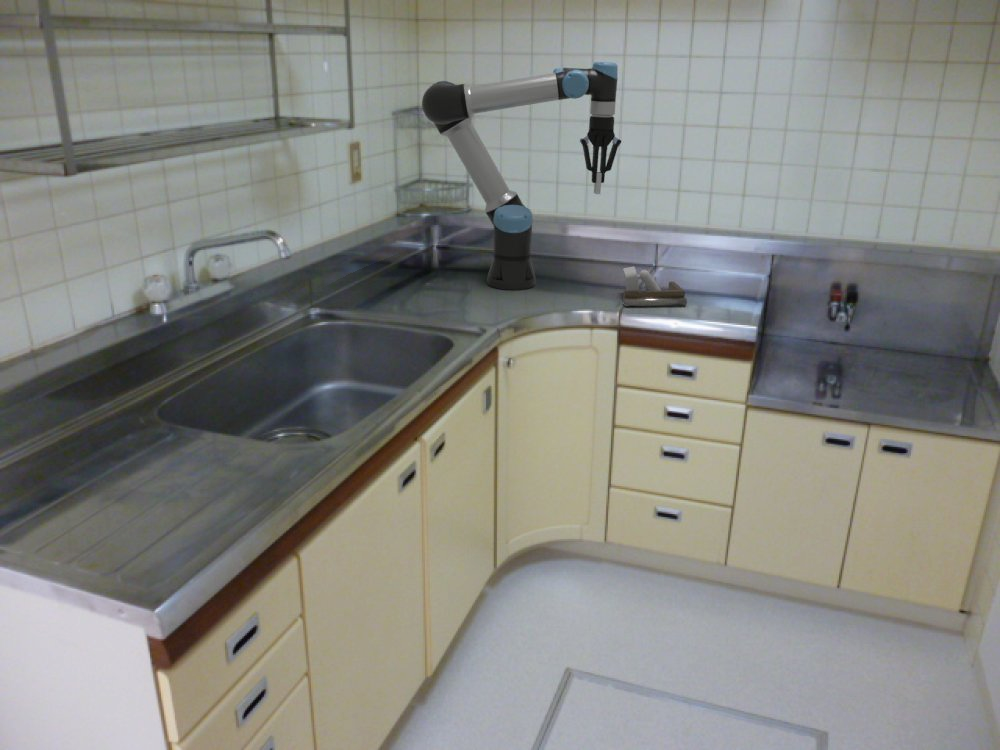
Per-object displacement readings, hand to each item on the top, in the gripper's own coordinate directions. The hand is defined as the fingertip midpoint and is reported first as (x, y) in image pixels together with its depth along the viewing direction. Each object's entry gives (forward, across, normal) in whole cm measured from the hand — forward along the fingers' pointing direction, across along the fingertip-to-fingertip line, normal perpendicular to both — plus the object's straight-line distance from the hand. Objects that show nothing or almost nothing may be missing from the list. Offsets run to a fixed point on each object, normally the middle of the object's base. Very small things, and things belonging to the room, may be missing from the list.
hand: (597, 193), depth 264 cm
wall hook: (+27, -10, +26) cm, 38 cm away
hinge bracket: (+26, -11, +30) cm, 41 cm away
